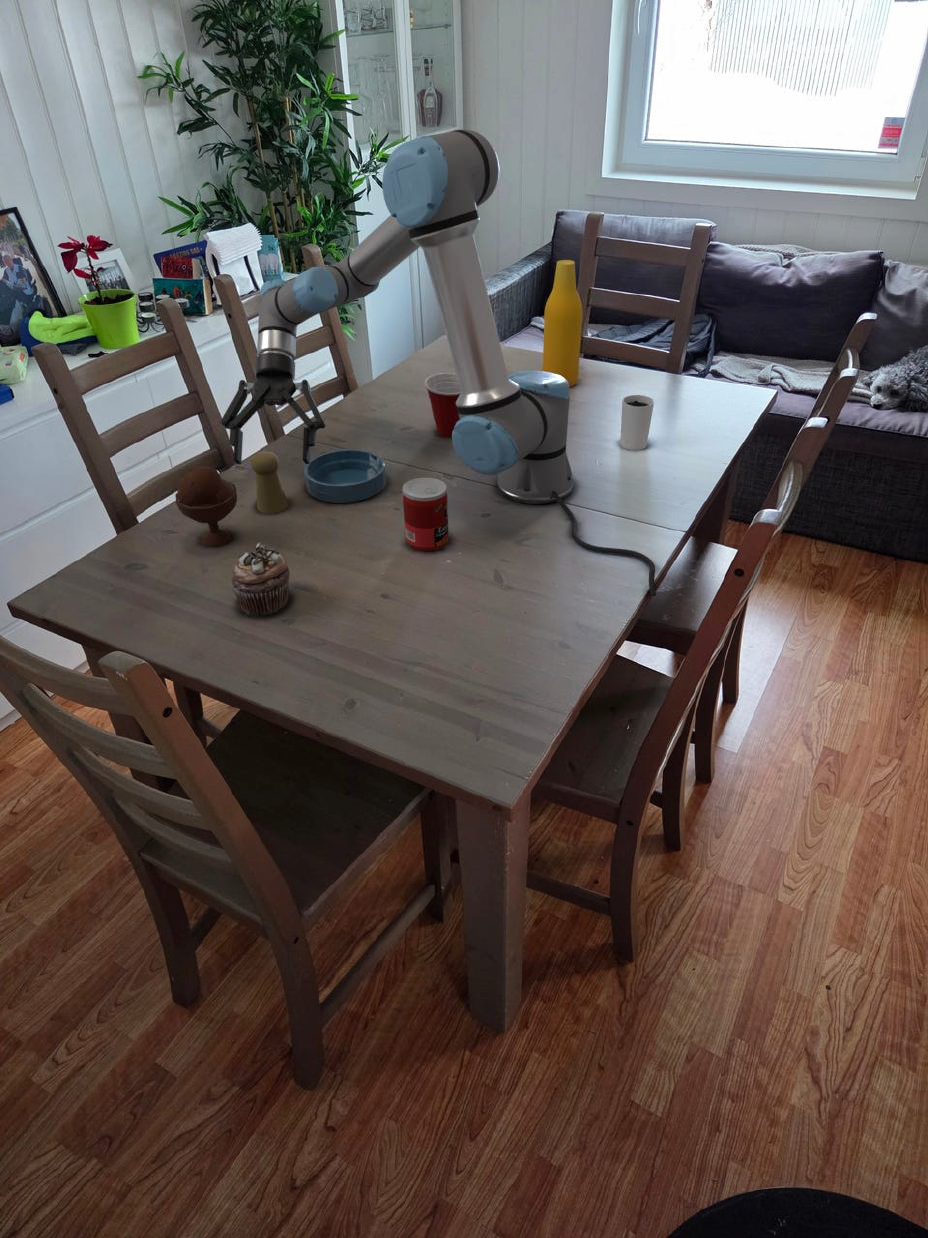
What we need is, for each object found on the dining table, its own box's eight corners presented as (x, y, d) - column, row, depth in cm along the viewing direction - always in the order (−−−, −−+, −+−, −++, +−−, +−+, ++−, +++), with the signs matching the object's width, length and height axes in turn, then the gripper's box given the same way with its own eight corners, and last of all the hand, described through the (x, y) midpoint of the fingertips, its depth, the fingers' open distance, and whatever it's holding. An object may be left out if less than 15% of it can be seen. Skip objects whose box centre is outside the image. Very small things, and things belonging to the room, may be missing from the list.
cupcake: (261, 579, 145) (251, 529, 138) (305, 595, 141) (297, 544, 134) (222, 608, 138) (210, 557, 132) (267, 625, 134) (257, 573, 128)
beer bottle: (539, 387, 211) (543, 266, 194) (544, 373, 218) (549, 256, 201) (575, 389, 210) (583, 267, 192) (580, 376, 217) (587, 257, 199)
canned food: (444, 553, 150) (442, 499, 143) (401, 549, 151) (396, 495, 145) (453, 531, 156) (451, 478, 149) (411, 528, 157) (408, 475, 151)
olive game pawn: (259, 499, 168) (249, 448, 161) (289, 497, 168) (281, 446, 161) (255, 514, 163) (245, 462, 156) (286, 512, 163) (278, 460, 156)
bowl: (398, 491, 169) (397, 473, 167) (322, 511, 163) (320, 493, 161) (368, 460, 180) (366, 443, 178) (296, 477, 175) (293, 460, 172)
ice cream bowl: (256, 528, 158) (242, 455, 149) (225, 558, 150) (207, 484, 141) (208, 520, 161) (191, 448, 152) (174, 549, 153) (154, 475, 144)
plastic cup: (446, 446, 185) (444, 394, 178) (417, 431, 192) (414, 380, 185) (483, 432, 190) (483, 381, 183) (454, 418, 197) (453, 368, 190)
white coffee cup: (611, 443, 185) (615, 399, 179) (633, 435, 188) (637, 392, 182) (633, 453, 180) (638, 409, 174) (655, 445, 183) (660, 401, 177)
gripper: (341, 366, 170) (338, 467, 167) (220, 367, 171) (215, 468, 168) (334, 350, 163) (331, 455, 160) (208, 351, 164) (202, 455, 161)
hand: (271, 462), depth 164 cm, fingers open, 13 cm apart
